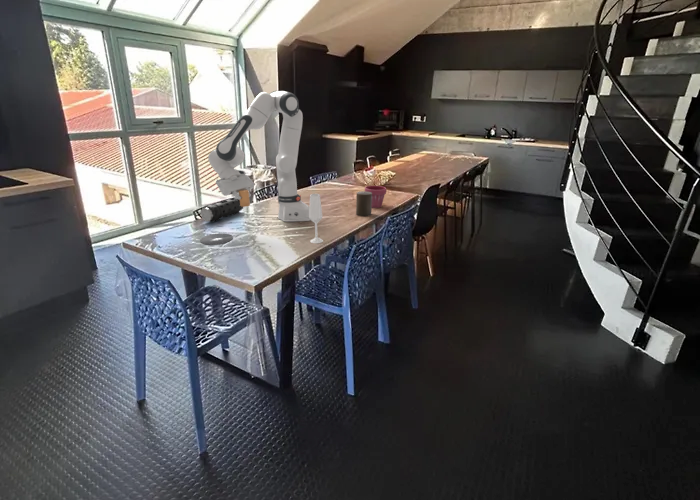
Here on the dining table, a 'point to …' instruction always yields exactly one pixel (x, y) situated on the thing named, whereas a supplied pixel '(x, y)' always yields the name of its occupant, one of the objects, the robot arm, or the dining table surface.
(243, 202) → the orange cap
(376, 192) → the plant pot
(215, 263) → the dining table surface
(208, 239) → the slate plate
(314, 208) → the champagne flute
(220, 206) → the muzzle brake
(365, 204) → the pillar candle
